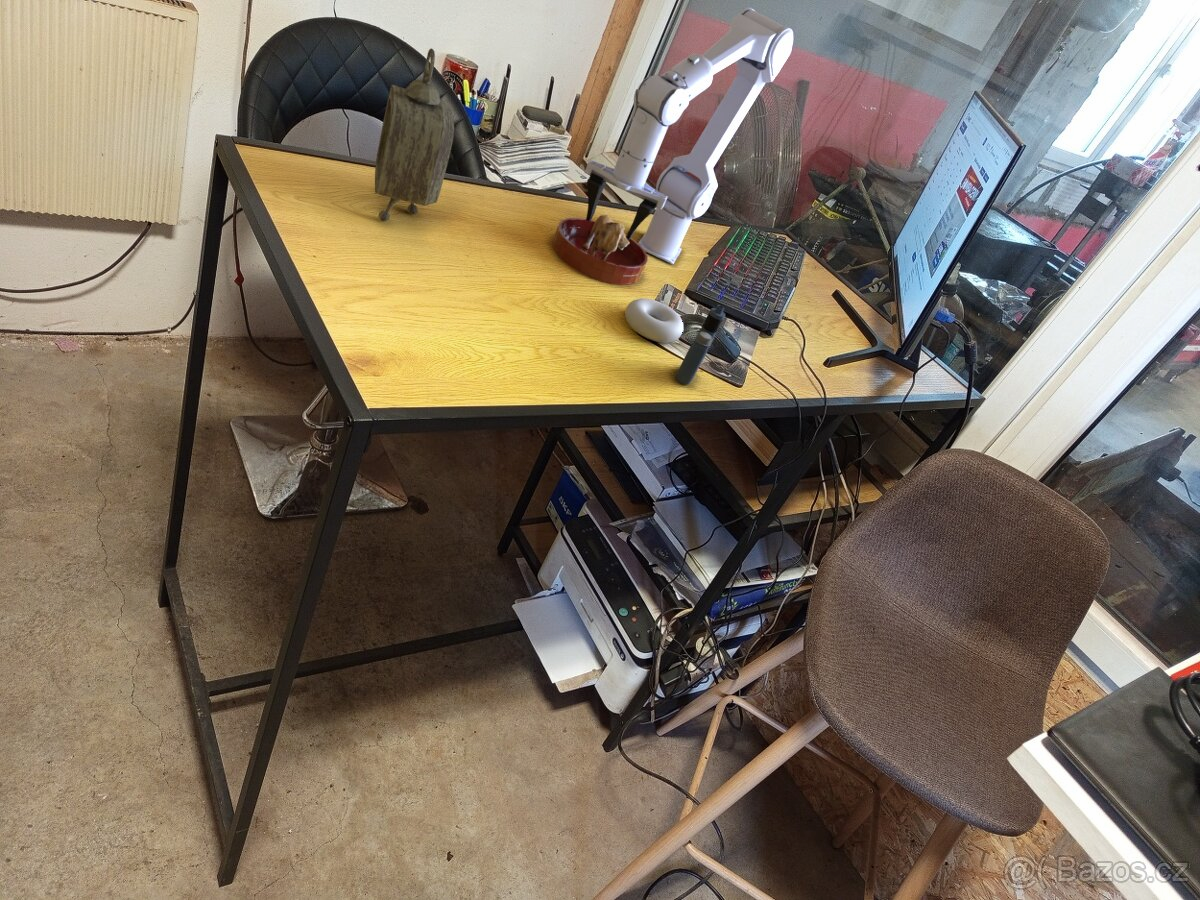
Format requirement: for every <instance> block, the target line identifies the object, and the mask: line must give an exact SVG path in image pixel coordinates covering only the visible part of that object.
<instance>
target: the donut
mask: <svg viewBox="0 0 1200 900" xmlns="http://www.w3.org/2000/svg"><path fill="white" fill-rule="evenodd" d="M624 316H625V320H626V322H627V324H628V325H629V326H630V327H631V329H632V330H633V331H634V332H636V333H637V334H638V335H641V336H642V337H644V338H645V339H648V340H649V341H653V342H657V343H665V344H666V343H673V342H675V341H677V340H679V339H680V337H681V336H682V334H683V333H684V322H682V321H683V319H682V318H681V316H680V315H679V314H678V312H677V311H675V310H674V309H673V308H672V307H670V306H668V305H667V304H665V303H663V302H660V301H658V300H655V299H651V298H640V297H639V298H637V299H633V300H631V301H630V302H629V303H628V304H627V306H626V307H625V312H624ZM682 332H683V333H682Z"/></svg>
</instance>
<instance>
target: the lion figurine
mask: <svg viewBox="0 0 1200 900" xmlns="http://www.w3.org/2000/svg"><path fill="white" fill-rule="evenodd" d="M595 221H596V222H595V223H594V225H593V228H592V231H591V234H588V236H589V238H588V240H587V242H586V243H585V244H584V245H583V247H584V248H587V249H588V248H589V246H590V243H591V241H592V240H593V237H594V241H593V244H592V246H591V250H590V254H589V255H591V256H593V257H594V255H595V253H596V251H597V250H598V251H599V252H600V253H602V254H603V255H602V257H601V258H600V259H601V260H603V261H605V259H606V258H607V256H608V255H609V254H610V253H611V252H613V251H616V249H617V247H619V248H620V250H623V249H624V247H626V246H627V245H628V244H629V241H628V240H627V238H626V235H627V234H626V233H625V226H624V224H621V223H619V222H613V219H612V218H611V217H610V216H609V215H607V214H601V215H599V217H597V218H596V220H595ZM625 234H626V235H625Z"/></svg>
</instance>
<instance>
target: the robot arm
mask: <svg viewBox="0 0 1200 900" xmlns="http://www.w3.org/2000/svg"><path fill="white" fill-rule="evenodd" d="M793 43H794V31H793V29H792V28H791V27H788V26H784V25H782V24H780V23H779V22H777V21H775V20H773V19H771V18H769V17H767V16H766V15H764V14H761V13H760V12H758V11H756V9H754V8H753V7H751V6H750V7H749V6H748V7H745V8H743V9H742V10H741V11H739V12H738V14H736V15H734V17H733V19H732V21H731V23H730V25H729V27H728V31H727V32H726V33H725V34H724V35H723V36H722V37H720V39H718V40H717V41H716V42H714V44H713V45H711V46H710V47H709V48H708V49H707V50H706V51H705V52H704V53H703V54H700V53H691V54H689V55H688V56H686V57H685V58H684V59H682V60H681V61H679V62H678V63H677V64H675V65H674V66H673V67H671V68H669V69H668V70H667V71H665V72H664V73H663V74H661V75H660V76H659V75H657V74H656V75H655V74H654V75H650V76H647V77H645V78H644V79H643V80H642V81H641V83H640V84H639V85H638V87H637V88H636V89H635V91H634V94H633V109H632V112H631V113H630V114H631V120H632V121H631V123H630V127H629V129H628V132H627V135H626V137H625V139H624V142H623V144H622V147H621V150H620V152H619V155H618V158H617V160H616V163H615V165H614V167H611V166H608V165H605V164H602V163H599V162H597V161H595V160H592V159H590V161H588V162H587V163H586V167H585V170H584V174H586V175H588V176H589V178H588V179H587V181H586V187H587V212H586V217H585V219H586V220H587V221H590V220H593V218H594V216H595V213H596V210H597V207H598V203H599V200H600V198H601V195H602V193H603V191H604V189H605V186H606V184H610V185H612V186H614V187H616V188H618V189H620V190H621V191H624V192H626V193H628V194H630V195H633V196H634V197H636V198H639V199H640V200H642V201H641V202H640V203H639V204H638V207H637V211H636V213H635V216H634V218H633V220H632V223H631V225H630V227H629V229H628V231H627V233H626V238H627V240H630V238H632V237H633V235H634V233H635V231H636V230H637V229H638V227H639V226H640V225H641V223H643V222H644V221H645V219H647V218H648V217H650V215H651V214H652V213H653V212H654V213H653V215H652V218H651V220H650V222H649V225H648V227H647V229H646V232H645V233H644V234H643V236H642V237H641V238H640V240H639V241H638V242H637V243H638V244H639V245H640V246H641V247H642V248H643V249H644V251H645V252H646V253H648V254H650V255H651V256H654V257H656V258H657V259H659V260H663V261H665V262H667V263H669V264H671V265H674V264H675V262H676V260H677V259H678V257H679V255H680V253H681V252H682V247H681V245H682V243H683V241H684V238H685V236H686V234H687V231H688V230H689V228H690V225H691V224H692V220H693V219H697V218H700V217H701V216H703V215H704V214H705V213H706V212H707V210H708V209H709V207H710V206H711V203H712V201H713V197H714V194H715V193H716V191H717V189H718V187H719V184H718V180H717V177H716V173H715V170H714V167H715V166H716V164H717V163H718V161H719V160H720V157H721V156H722V155H723V153H724V151H725V149H726V148H727V146H728V145H729V143H730V142H731V140H732V138H733V137H734V135H735V134H736V132H737V130H738V129H739V127H740V125H741V123H742V122H743V120H744V119H745V117H746V115H747V114H748V112H749V110H750V109H751V107H752V106H753V105H754V103H755V101H756V99H757V97H758V96H759V94H760V93H761V91H762V89H763V88H764V87H765V85H766V83H767V84H768V83H772V82H773V81H774V80H775V78H776V77H777V76H778V74H779V73H780V71H781V69H782V68H783V66H784V64H785V63H786V62H787V60H788V58H789V57H790V56H791V53H792V49H793ZM734 63H735V65H736V66H737V74H736V76H735V77H734V79H733V81H732V83H731V85H730V86H729V87H728V89H727V91H726V92H725V94H724V96H723V98H722V100H720V103H718V105H717V108H716V110H715V111H714V113H713V115H712V116H711V118H710V119H709V121H708V123H707V124H706V126H705V128H704V129H703V130H702V133H701V135H700V136H699V138H698V139H697V140H696V142H695V144H694V146H693V147H692V149H691V151H690V153H689V154H685V155H684V154H683V155H680V156H676V157H674V158H673V159H672V161H671V162H670V164H669V165H668V166H667V167H666V168H665V169H664V170H663V171H662V172H661V173H660V175H659V177H658V178H657V181H656V185H655V188H653V187H652V186H650V185H648V184H647V183H646V182H647V179H648V177H649V174H650V173H651V171H652V167H653V165H654V163H655V160H656V157H657V155H658V153H659V151H660V148H661V145H662V143H663V141H664V138H665V135H666V133H667V131H668V129H669V126H671V125H673V124H675V123H676V122H677V121H678V120H679V119H680V118H681V116H682V115H683V112H684V111H685V110H686V109H687V108H688V106H689V103H690V101H691V100H693V99H695V98H696V97H697V96H699V95H700V94H701V93H703V92H704V91H706V90H707V89H708V88H709V87H710V86H711V85H712V82H713V79H714V75H715V74H717V73H719V72H720V71H722V70H724V69H725V68H727V67H728V66H730V65H732V64H734ZM686 172H688V173H690V174H692V175H693V176H695V177H696V178H697V179H699V180H700V181H699V180H697V179H695V178H694V177H692V176H691V175H689V174H688V173H686Z"/></svg>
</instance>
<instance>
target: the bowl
mask: <svg viewBox="0 0 1200 900" xmlns="http://www.w3.org/2000/svg"><path fill="white" fill-rule="evenodd" d="M595 222H596V220H593V219H591V220H590V221H587V220H586V218H583V217H567V218H564V219H562V220H560V221H559V222H558V224H557V227H556V229H555V232H554V235H553V238H552V242H551V247H552V250H553V252H554V254H555V255H556V256H557V257H558V258H559V259H560V260H561V261H562V262H563V263H564V264H566V265H567V266H569V267H570V268H572V269H573V270H574V271H577V272H579V273H580V274H582V275H585V276H586V277H589V278H591V279H594V280H596V281H600V282H602V283H607V284H611V285H617V286H626V285H627V286H628V285H633V284H636V283H637V282H638V281H640V278H641V277H642V275H643V272H644V270H645V268H646V266H647V263H648V261H649V259H648V254H647V252H646V251H644V249H643V248H642V247H641V246H640V245H639V244H638V243H639V242H637V241H636V240H634V239H633V238H632V237H631V238H630V240H628V241H629V244H628V245H627V246H626V247H624V249H623V250H620V248H619V247H617V249H616V251H613V252H611V253H610V254H609V255H608V256H607V258H606V259H605V261H603V260H601V259H600V258H601V257H602V255H603V254H602V253H600V252H599V251H598V250H597V251H596V253H595V255H594V257H593V256H591V255H589V254H590V250H591V246H592V244H593V241H594V237H593V240H592V241H591V243H590V246H589V248H588V249H587V248H584V247H583V245H584V244H585V243H586V242H587V240H588V238H589V236H588V234H591V231H592V228H593V225H594V223H595ZM625 235H627V233H625Z"/></svg>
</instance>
